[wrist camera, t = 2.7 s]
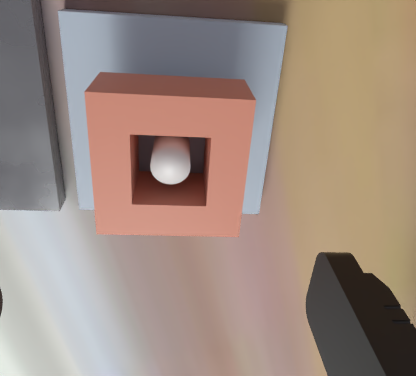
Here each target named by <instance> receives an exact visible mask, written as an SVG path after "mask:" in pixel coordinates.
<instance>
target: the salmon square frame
mask: <svg viewBox="0 0 416 376" xmlns="http://www.w3.org/2000/svg"><path fill="white" fill-rule="evenodd" d="M84 94H85V105H86V117H87V129H88V140H89V152H90V163H91V175H92V186H93V198H94V210H95V221H96V233H97V234H115V235H164V236H214V237H239V231H240V223H241V216H242V208H243V200H244V192H245V184H246V177H247V169H248V161H249V153H250V145H251V137H252V130H253V122H254V114H255V106H256V99H255V97H254V95H253V94H252V92H251V90H250V88H249V86H248V85H247V83H246V81H245V80H244V79H226V78H207V77H188V76H169V75H150V74H132V73H113V72H100V73H99V74H98V75H97V76H96V78H95V79H94V80H93V81H92V83H91V84H90V85H89V87H88V88H87V89H86V90H85V92H84ZM138 135H155V136H179V137H204V138H205V149H204V164H203V173H189V175H188V176H187V177H186V179H184V180H183V181H182V182H180V183H177V184H164V183H162V182H160V181H158V180H157V179H156V178H155V177H154V176H153V174H152V172H151V171H139V141H138Z"/></svg>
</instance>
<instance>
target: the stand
mask: <svg viewBox="0 0 416 376" xmlns="http://www.w3.org/2000/svg"><path fill="white" fill-rule="evenodd" d="M58 17H59V26H60V36H61V45H62V54H63V63H64V73H65V82H66V91H67V100H68V110H69V119H70V128H71V137H72V146H73V156H74V165H75V174H76V183H77V193H78V202H79V210H94V198H93V186H92V175H91V163H90V152H89V140H88V129H87V117H86V105H85V94H84V92H85V90H86V89H87V88H88V87H89V85H90V84H91V83H92V81H93V80H94V79H95V78H96V76H97V75H98V74H99V73H100V72H113V73H132V74H150V75H169V76H188V77H207V78H226V79H244V80H245V81H246V83H247V85H248V86H249V88H250V90H251V92H252V94H253V95H254V97H255V99H256V106H255V114H254V122H253V130H252V137H251V145H250V153H249V161H248V169H247V177H246V184H245V192H244V200H243V208H242V214H259V210H260V203H261V197H262V190H263V184H264V177H265V171H266V164H267V158H268V151H269V144H270V138H271V131H272V125H273V118H274V112H275V105H276V99H277V92H278V86H279V79H280V72H281V66H282V59H283V53H284V46H285V40H286V33H287V27H288V26H287V25H285V24H283V23H273V22H257V21H242V20H227V19H212V18H197V17H181V16H166V15H151V14H136V13H120V12H105V11H90V10H75V9H62V10H59V11H58ZM138 141H139V171H151V172H152V174H153V176H154V177H155V178H156V179H157V180H158V181H160V182H162V183H164V184H177V183H180V182H182V181H183V180H184V179H186V177H187V176H188V175H189V173H203V164H204V149H205V138H204V137H179V136H155V135H138Z"/></svg>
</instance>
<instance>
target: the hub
mask: <svg viewBox="0 0 416 376" xmlns="http://www.w3.org/2000/svg"><path fill="white" fill-rule="evenodd" d="M64 201H65V193H64V185H63V177H62V169H61V161H60V153H59V145H58V138H57V130H56V122H55V114H54V106H53V98H52V90H51V82H50V75H49V67H48V59H47V51H46V43H45V35H44V27H43V19H42V11H41V4H40V0H0V210H38V211H60V209H61V207H62V205H63V203H64Z"/></svg>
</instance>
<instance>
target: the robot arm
mask: <svg viewBox="0 0 416 376" xmlns="http://www.w3.org/2000/svg"><path fill="white" fill-rule="evenodd" d="M2 303H3V299H2V293H1V289H0V315H1V311H2ZM400 306H401V305H400V304H399V302H398V301H397V299H396V298H395V296H394V295H393V293H392V291H391V290H390V288H389V287H387V286H386V285H385V284H384V283H383V282H381V281H380V280H379V279H378V278H377V277H376V276H374V275H373V274H372V273H363V271H362V269H361V268H360V266H359V264H358V263H357V261H356V259H355V258H354V256H353V255H352V254H351V253H335V252H321V253H319V254H318V255H317V258H316V261H315V265H314V269H313V273H312V277H311V280H310V284H309V288H308V292H307V296H306V314H307V319H308V322H309V325H310V328H311V331H312V333H313V336H314V339H315V342H316V344H317V347H318V350H319V353H320V355H321V358H322V361H323V364H324V367H325V369H326V372H327V375H328V376H416V328H415V327H414V325H413V324H410V319H409V318H408V316H407V315H406V313H405V312H404V310H403V309H401V307H400Z"/></svg>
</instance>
